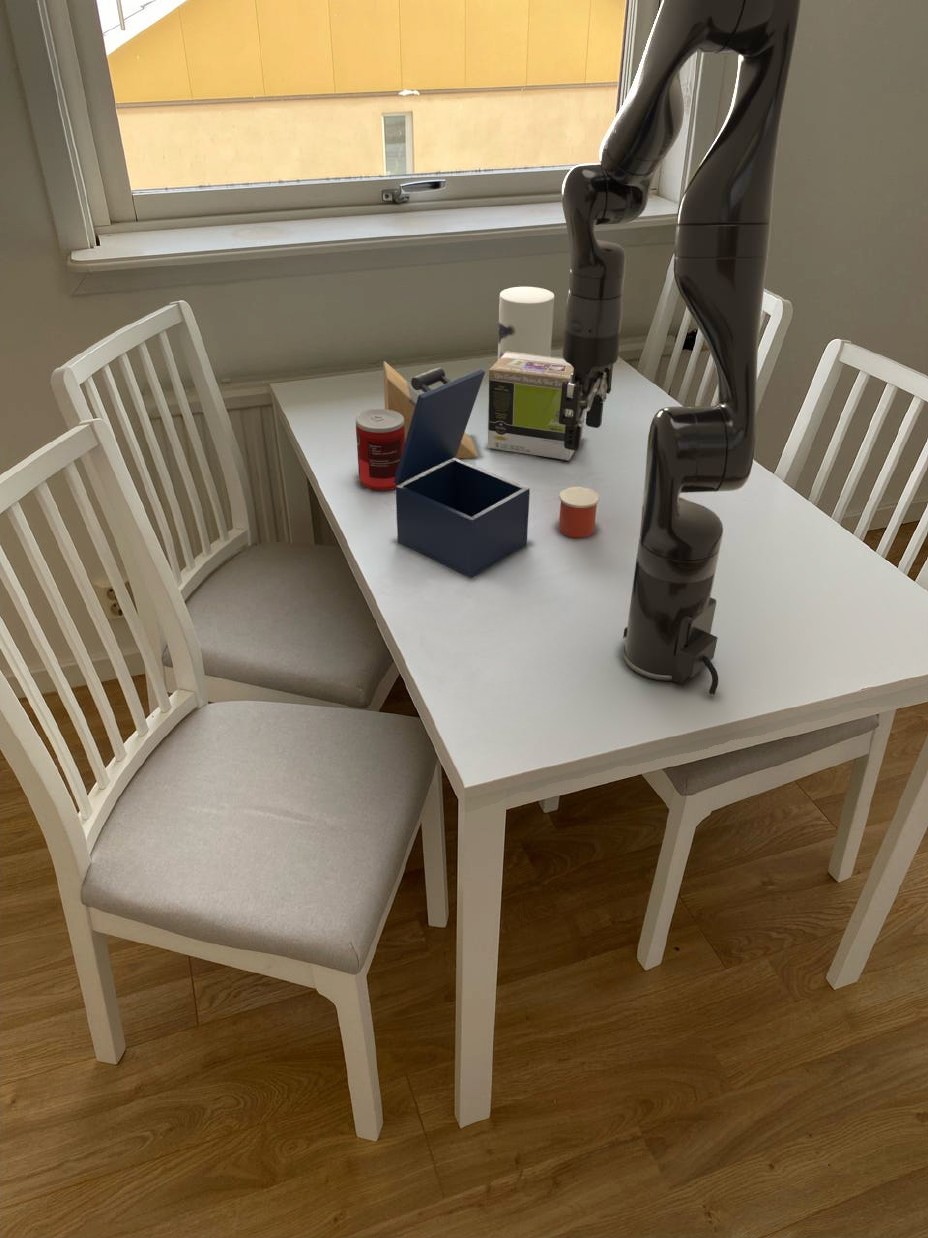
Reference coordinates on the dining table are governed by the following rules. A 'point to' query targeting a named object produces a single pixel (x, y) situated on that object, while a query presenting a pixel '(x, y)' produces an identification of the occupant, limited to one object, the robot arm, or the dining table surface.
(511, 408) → the tea box
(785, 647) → the dining table surface
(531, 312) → the container
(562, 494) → the plastic tub
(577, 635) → the dining table surface
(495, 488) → the navy blue open box
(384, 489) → the canned food
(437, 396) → the cool box lid
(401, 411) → the sandwich container
